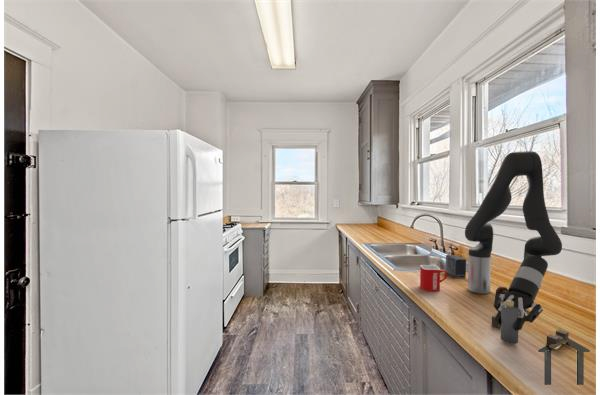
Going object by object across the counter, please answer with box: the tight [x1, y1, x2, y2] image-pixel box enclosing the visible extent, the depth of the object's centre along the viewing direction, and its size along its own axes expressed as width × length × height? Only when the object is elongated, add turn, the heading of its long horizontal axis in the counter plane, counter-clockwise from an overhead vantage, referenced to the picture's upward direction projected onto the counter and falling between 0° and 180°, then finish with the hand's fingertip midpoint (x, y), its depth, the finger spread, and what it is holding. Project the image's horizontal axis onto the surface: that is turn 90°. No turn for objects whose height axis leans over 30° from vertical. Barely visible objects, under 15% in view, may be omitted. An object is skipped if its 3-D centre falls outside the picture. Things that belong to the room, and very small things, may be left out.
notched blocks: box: [491, 314, 570, 346], centre depth 108 cm, size 9×20×4 cm, turn 30°
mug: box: [419, 264, 448, 292], centre depth 153 cm, size 12×8×11 cm
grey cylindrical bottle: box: [500, 300, 519, 345], centre depth 101 cm, size 5×5×13 cm
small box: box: [445, 254, 467, 279], centre depth 175 cm, size 11×6×10 cm, turn 4°
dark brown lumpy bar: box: [495, 286, 509, 294], centre depth 134 cm, size 6×5×15 cm
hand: (506, 326), depth 100 cm, fingers closed on grey cylindrical bottle, 4 cm apart
